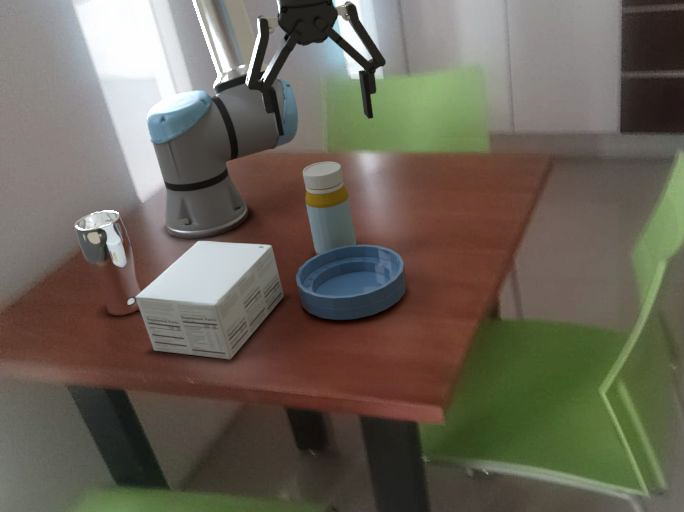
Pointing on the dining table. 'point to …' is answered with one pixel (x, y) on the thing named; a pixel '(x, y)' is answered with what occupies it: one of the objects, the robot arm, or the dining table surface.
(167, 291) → the supplement box
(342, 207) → the bottle
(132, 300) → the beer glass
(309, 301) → the bowl
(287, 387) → the dining table surface
